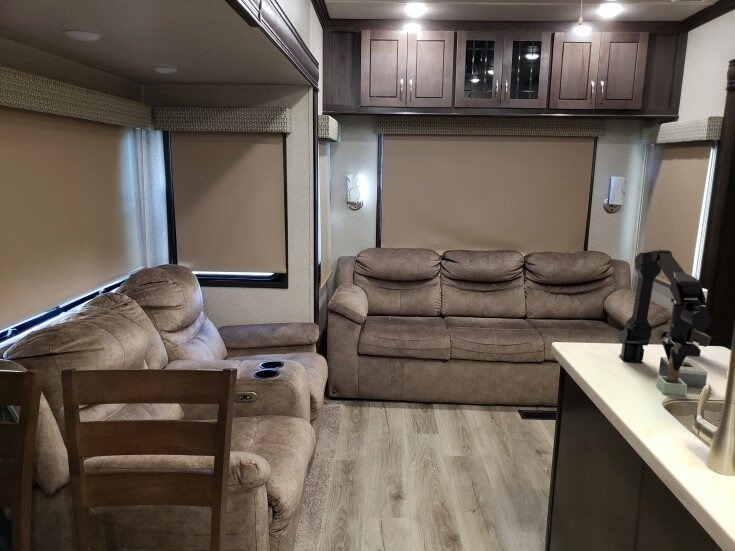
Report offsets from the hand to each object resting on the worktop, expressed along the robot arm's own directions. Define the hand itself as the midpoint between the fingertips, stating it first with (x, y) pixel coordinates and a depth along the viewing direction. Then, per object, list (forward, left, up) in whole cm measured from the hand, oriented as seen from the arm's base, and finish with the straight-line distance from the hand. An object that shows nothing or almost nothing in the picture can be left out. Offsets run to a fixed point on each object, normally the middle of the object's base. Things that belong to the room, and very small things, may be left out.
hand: (673, 368), depth 175 cm
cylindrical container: (+20, +42, -8) cm, 47 cm away
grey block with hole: (+7, +11, -7) cm, 15 cm away
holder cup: (0, 0, -7) cm, 7 cm away
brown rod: (0, 0, -4) cm, 4 cm away
